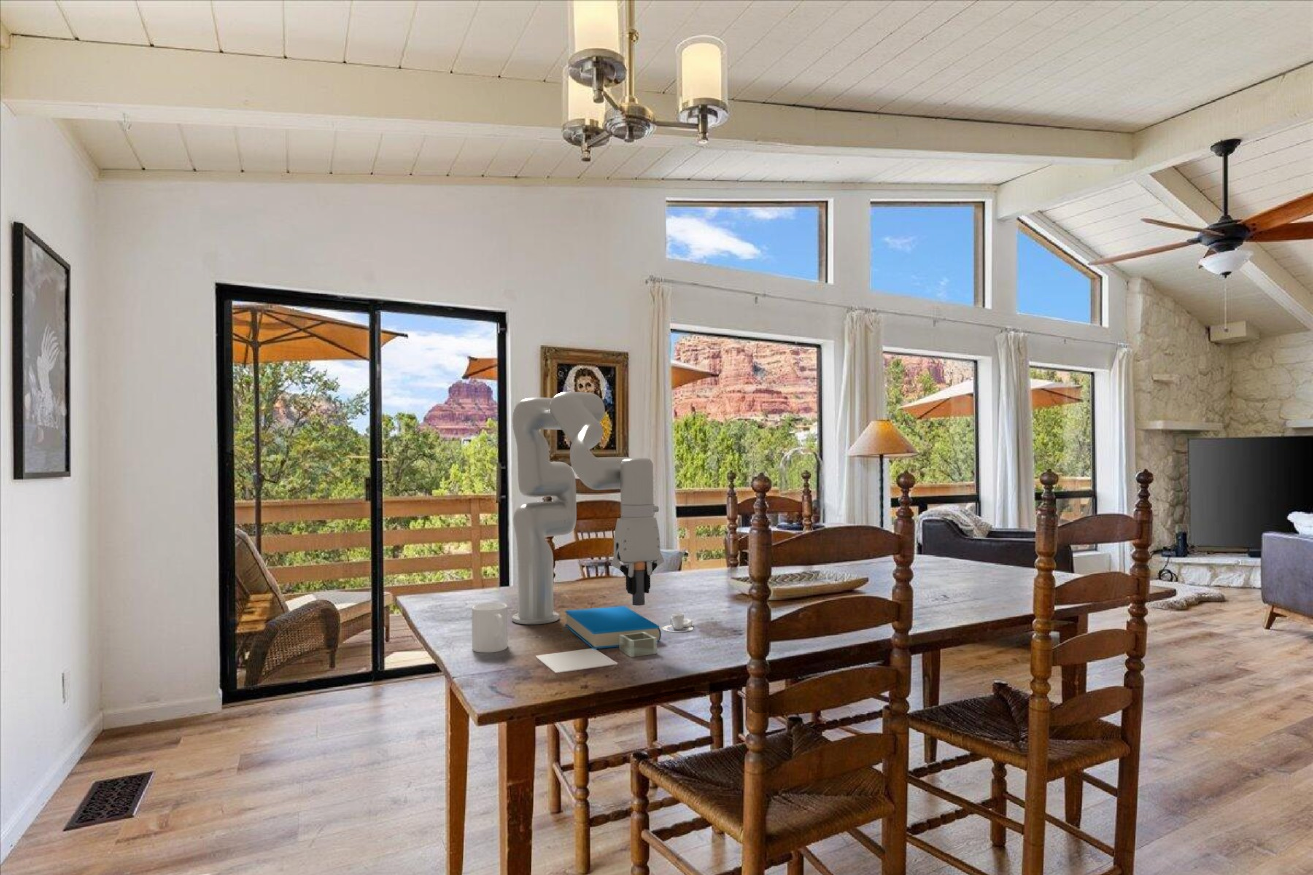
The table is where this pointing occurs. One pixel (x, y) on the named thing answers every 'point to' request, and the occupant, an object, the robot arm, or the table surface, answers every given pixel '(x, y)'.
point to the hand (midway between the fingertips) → (638, 592)
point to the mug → (489, 627)
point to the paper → (575, 660)
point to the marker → (639, 584)
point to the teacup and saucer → (679, 623)
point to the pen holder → (638, 644)
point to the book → (608, 625)
